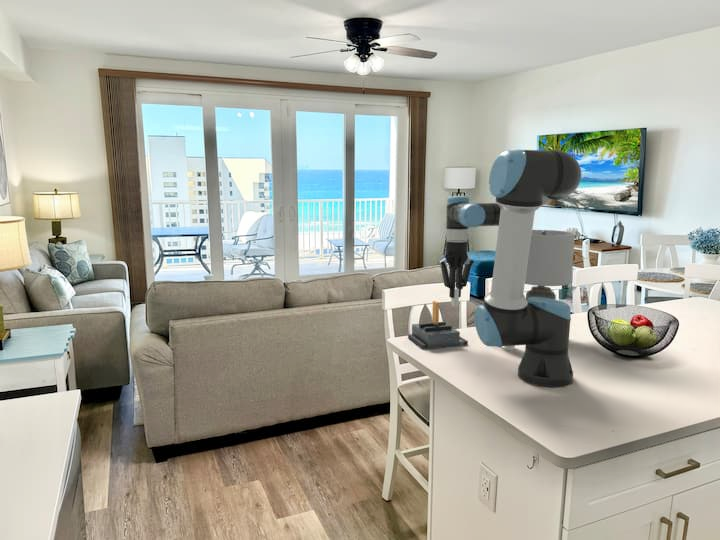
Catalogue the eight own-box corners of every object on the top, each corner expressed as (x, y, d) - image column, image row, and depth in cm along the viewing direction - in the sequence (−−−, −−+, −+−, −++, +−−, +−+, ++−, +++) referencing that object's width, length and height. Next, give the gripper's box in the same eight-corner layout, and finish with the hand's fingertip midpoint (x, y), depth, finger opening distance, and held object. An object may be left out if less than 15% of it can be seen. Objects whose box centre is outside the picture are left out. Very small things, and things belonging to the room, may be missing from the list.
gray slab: (467, 345, 182) (467, 341, 182) (459, 345, 181) (460, 341, 181) (449, 333, 195) (449, 330, 195) (442, 334, 194) (442, 331, 194)
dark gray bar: (426, 348, 178) (426, 344, 178) (422, 349, 178) (422, 345, 178) (411, 338, 190) (411, 334, 190) (408, 338, 190) (408, 334, 190)
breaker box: (459, 345, 181) (460, 328, 180) (427, 349, 178) (427, 331, 177) (442, 334, 194) (442, 318, 193) (411, 337, 191) (412, 321, 190)
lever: (438, 326, 184) (439, 302, 182) (435, 326, 184) (436, 302, 182) (435, 324, 187) (435, 300, 185) (432, 324, 186) (432, 301, 185)
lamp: (499, 334, 194) (503, 230, 188) (528, 324, 208) (533, 226, 201) (550, 347, 179) (557, 234, 173) (577, 335, 193) (585, 230, 186)
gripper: (468, 238, 188) (466, 302, 192) (435, 240, 184) (433, 305, 188) (478, 241, 180) (476, 307, 185) (444, 242, 177) (442, 310, 181)
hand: (454, 306), depth 186 cm, fingers closed
